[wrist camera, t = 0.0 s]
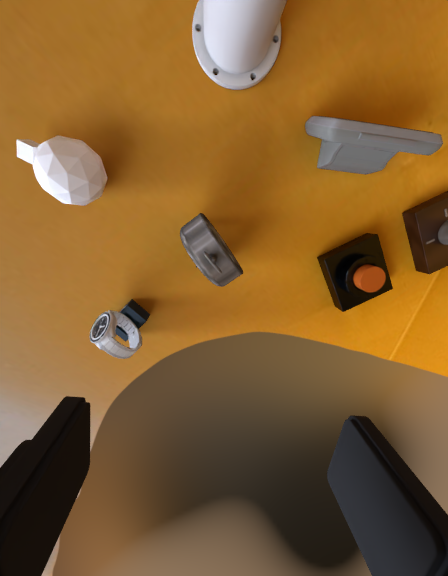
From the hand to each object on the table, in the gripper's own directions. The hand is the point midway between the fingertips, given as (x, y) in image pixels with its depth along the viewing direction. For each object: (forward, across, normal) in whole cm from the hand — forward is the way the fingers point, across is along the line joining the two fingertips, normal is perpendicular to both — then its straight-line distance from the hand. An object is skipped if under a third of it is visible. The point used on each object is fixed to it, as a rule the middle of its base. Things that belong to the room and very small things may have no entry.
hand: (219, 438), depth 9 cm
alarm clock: (+38, 0, -2) cm, 38 cm away
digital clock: (+38, -20, -22) cm, 48 cm away
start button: (+33, -27, -2) cm, 43 cm away
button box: (+37, -27, -2) cm, 46 cm away
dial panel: (+37, -41, -11) cm, 57 cm away
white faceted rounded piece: (+38, +22, -12) cm, 45 cm away
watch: (+38, +13, +12) cm, 42 cm away
